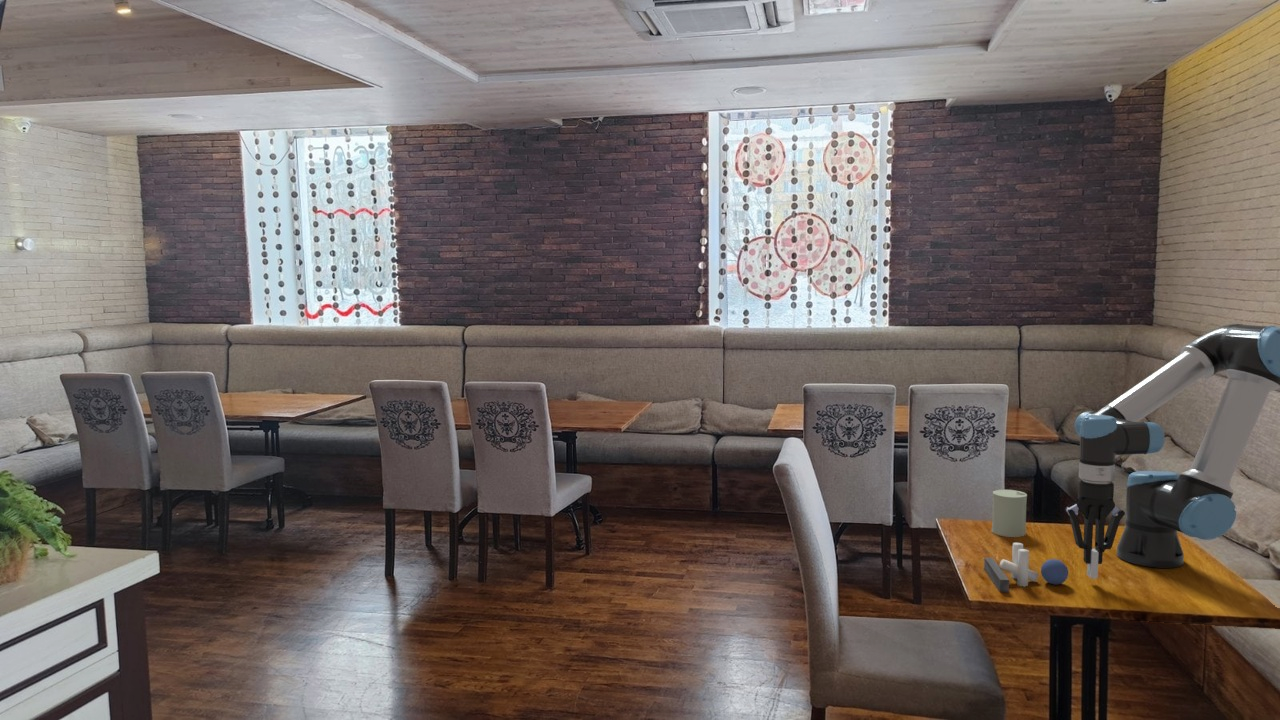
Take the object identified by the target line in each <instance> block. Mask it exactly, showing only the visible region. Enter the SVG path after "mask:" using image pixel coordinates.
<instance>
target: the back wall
mask: <svg viewBox="0 0 1280 720" xmlns="http://www.w3.org/2000/svg"><path fill="white" fill-rule="evenodd" d="M983 559H984V560H983V561H984V565H983V570H984V571H985V573H986V575H988V577H989V578H990V580H991V581H992V583H993V584H994V586H995V587H996V588H997V589H998V591H999V593H1010V579H1009V578H1008V576H1007V575H1006V573H1005V572H1004V570H1003V569H1000V565H999V564H998V563H997V562H996V559H994V557H984V558H983Z"/></svg>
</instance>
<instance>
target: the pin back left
mask: <svg viewBox="0 0 1280 720" xmlns="http://www.w3.org/2000/svg"><path fill="white" fill-rule="evenodd" d="M1029 562H1030V551H1029V549H1025V548H1023V549H1019V550H1018V572H1017V579H1016V585H1017V586H1019V587H1022V586H1023V587H1022V588H1026V586H1027V587H1028V586H1029V580H1028V569H1029V568H1030V567H1029V565H1030V563H1029ZM1029 570H1030V569H1029Z"/></svg>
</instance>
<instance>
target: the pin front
mask: <svg viewBox="0 0 1280 720" xmlns="http://www.w3.org/2000/svg"><path fill="white" fill-rule="evenodd" d="M999 567H1000V569H1001V570H1002V571H1005V572H1008V573H1010V574H1012V573H1013V574H1015V575H1017V572H1018V565H1017V564H1014V563H1012V561H1009V560H1007V559H1004V558H1003V559H1001V560H1000V563H999ZM1038 578H1039V572H1037V571H1034V570H1031V569H1028V581H1031V582H1032V583H1036V582H1037V579H1038Z"/></svg>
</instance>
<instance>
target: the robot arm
mask: <svg viewBox="0 0 1280 720" xmlns="http://www.w3.org/2000/svg"><path fill="white" fill-rule="evenodd" d="M1223 371H1224V373H1225V374H1226V376H1227V378H1228V381H1227V383H1226V386H1225V388H1224V390H1223V393H1222V395H1221V397H1220V399H1219V402H1218V404H1217V407H1216V409H1215V410H1214V413H1213V416H1212V418H1211V421H1210V423H1209V425H1208V427H1207V429H1206V432H1205V435H1204V437H1203V439H1202V441H1201V443H1200V446H1199V447H1198V450H1197V453H1196V455H1195V457H1194V459H1193V461H1192V464H1191V466H1190V468H1189V469H1188V470H1186V471H1183V472H1180V474H1179V473H1178V472H1174V471H1166V470H1165V471H1164V470H1140V471H1134V472H1132V473H1130V474H1129V475H1128V478H1127V484H1126V500H1125V502H1126V504H1125V511H1124V510H1123V509H1122V508H1120V507H1117V506H1116V504H1115V501H1114V492H1115V489H1114V488H1115V483H1114V482H1113V481H1114V480H1115V467H1116V466H1115V464H1116V457H1117V456H1124V455H1126V456H1127V455H1128V456H1129V455H1148V454H1154V453H1155V454H1156V453H1158V452H1160V451H1161V450H1162V449H1163V447H1164V446H1165V432H1164V430H1163V429H1162V427H1161V425H1159V424H1158V423H1156V422H1154V421H1145V420H1144V421H1141V420H1143V419H1144V418H1145V417H1148V415H1149V414H1151V413H1152V412H1154V411H1155V410H1157V409H1158V408H1160V407H1161V406H1163V405H1164V404H1165V403H1167V402H1169V401H1170V400H1172V399H1173V398H1174V397H1176V396H1178V395H1179V394H1180V393H1182V392H1183V391H1185V390H1186V389H1188V388H1190V387H1191V386H1192V385H1194V384H1195V383H1196V382H1198V381H1200V380H1201V379H1209V378H1212V377H1213V376H1215V374H1218V373H1219V372H1223ZM1278 389H1280V327H1278V326H1275V325H1267V326H1266V325H1254V324H1253V325H1250V324H1242V323H1240V324H1239V323H1231V324H1226V325H1223V326H1219V327H1217V328H1214V329H1212V330H1210V331H1207V332H1206V333H1204V334H1202V335H1200V336H1198V337H1196V339H1194V340H1192V341H1190V342H1189V343H1187V344H1186V345H1184V346H1182V348H1181V349H1180V351H1179V355H1178V356H1176V357H1174V358H1173V359H1172V360H1170V361H1169V362H1168V363H1166V364H1165V365H1162V367H1160V368H1158V369H1157V370H1155V371H1154V372H1153V373H1151V374H1150V375H1148V376H1147V377H1145V378H1144V379H1143V380H1141V381H1140V382H1138V383H1137V384H1135V385H1134V386H1132V387H1131V388H1130V389H1128V390H1127V391H1125V392H1124V393H1123V394H1121V395H1119V396H1118V397H1117V398H1115V399H1114V400H1112V401H1111V402H1110V403H1108V404H1107V405H1105V406H1104V407H1102V408H1101V409H1099V410H1097V411H1094V410H1093V411H1084V412H1082V413H1080V414H1079V415H1078V416H1077V418H1076V419H1075V421H1074V431H1075V433H1076V435H1077V436H1078V437H1079V464H1078V465H1079V466H1078V478H1080V479H1079V480H1078V483H1077V486H1078V488H1077V499H1076V500H1075V503H1074V505H1071V506H1066V507H1065V512H1066V513H1067V515H1068V516H1069V520H1070V525H1071V529H1072V533H1073V539H1074V542H1075V545H1076V547H1078V548H1080V549H1081V550H1083V562H1084V563H1085V564H1087V567H1086V575H1087V576H1088V577H1089V578H1090V579H1098V577H1099V576H1098V575H1099V565H1102V563H1103V554H1104V553H1105V551H1106V550H1111V549H1112V548H1113V544H1114V541H1115V538H1116V535H1117V533H1118V532H1117V531H1118V529H1119V526H1120V522H1121V520H1122V519H1123V517H1124V516H1125V525H1124V530H1123V531H1122V534H1121V535H1120V539H1119V540H1118V543H1117V545H1116V556H1117V557H1118V558H1119V559H1120V560H1123V561H1125V562H1127V563H1131V564H1134V565H1138V566H1143V567H1147V568H1159V569H1163V568H1164V569H1170V568H1171V569H1173V568H1179V567H1181V566H1182V565H1184V559H1185V555H1184V552H1183V551H1184V550H1183V547H1182V545H1181V542H1180V538H1179V536H1178V532H1180V533H1182V534H1184V535H1185V536H1188V537H1191V538H1196V539H1200V540H1205V541H1209V540H1215V539H1217V538H1219V537H1223V536H1224V535H1225V534H1226V533H1227V532H1228V531H1230V529H1231V528H1232V527H1233V525H1234V523H1235V522H1236V517H1237V511H1236V510H1235V509H1236V505H1235V503H1234V502H1233V500H1232V497H1233V495H1234V491H1233V489H1232V487H1231V485H1230V483H1231V481H1232V478H1233V476H1234V474H1235V472H1236V470H1237V467H1238V465H1239V463H1240V461H1241V458H1242V456H1243V453H1244V451H1245V449H1246V447H1247V444H1248V442H1249V440H1250V438H1251V435H1252V433H1253V431H1254V429H1255V426H1256V424H1257V423H1258V419H1259V417H1260V415H1261V412H1262V411H1263V408H1264V405H1265V403H1266V401H1267V398H1268V396H1269V394H1270V393H1271V392H1273V391H1276V390H1278ZM1139 421H1141V422H1139ZM1079 511H1080V513H1081V514H1082V515H1083V521H1084V522H1083V523H1084V524H1083V535H1082V530H1081V525H1080V520H1079V518H1078V514H1079ZM1110 514H1111V517H1110V519H1109V522H1108V525H1107V529H1106V530H1105V525H1106V518H1107V517H1108V516H1109V515H1110ZM1094 523H1095V524H1094ZM1094 525H1095V529H1094ZM1093 532H1094V533H1093ZM1093 534H1094V548H1093Z"/></svg>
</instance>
